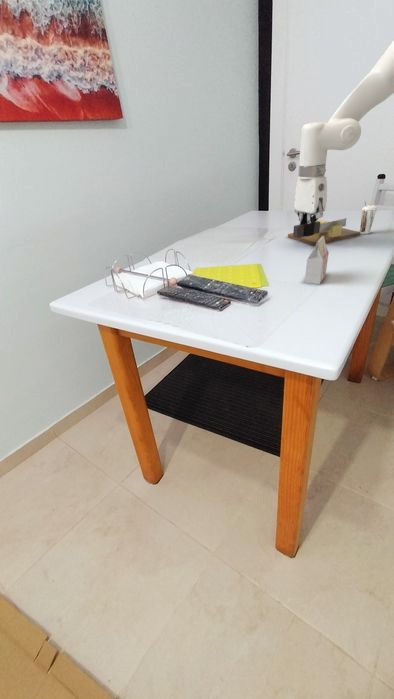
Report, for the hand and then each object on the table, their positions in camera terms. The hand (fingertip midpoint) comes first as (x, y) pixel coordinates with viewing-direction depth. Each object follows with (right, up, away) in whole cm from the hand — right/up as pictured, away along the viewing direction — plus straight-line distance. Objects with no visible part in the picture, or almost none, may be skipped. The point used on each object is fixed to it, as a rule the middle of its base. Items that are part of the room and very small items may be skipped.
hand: (306, 234), depth 110 cm
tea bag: (-5, -20, -23) cm, 31 cm away
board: (+9, +2, +9) cm, 13 cm away
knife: (+5, +2, +2) cm, 6 cm away
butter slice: (+11, +1, +4) cm, 12 cm away
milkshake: (+24, +4, +10) cm, 26 cm away
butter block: (+8, +5, +11) cm, 14 cm away
